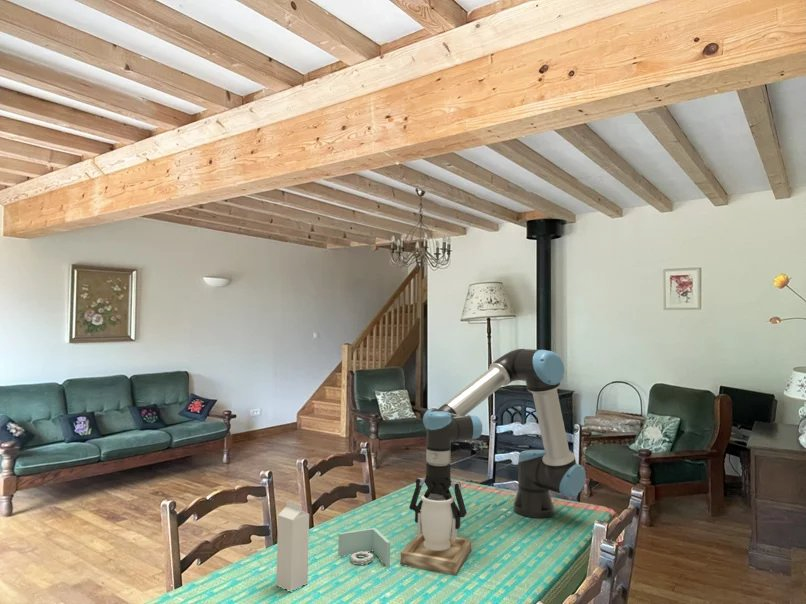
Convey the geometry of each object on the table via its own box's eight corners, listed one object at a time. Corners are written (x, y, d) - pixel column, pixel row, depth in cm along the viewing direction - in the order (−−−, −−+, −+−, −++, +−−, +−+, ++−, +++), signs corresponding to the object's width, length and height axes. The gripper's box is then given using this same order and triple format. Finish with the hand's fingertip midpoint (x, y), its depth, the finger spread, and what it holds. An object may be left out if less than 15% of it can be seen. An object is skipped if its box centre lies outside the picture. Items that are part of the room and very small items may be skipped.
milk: (292, 578, 147) (295, 497, 148) (307, 584, 143) (310, 501, 144) (275, 586, 142) (278, 502, 143) (290, 593, 138) (293, 507, 139)
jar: (452, 554, 155) (452, 502, 156) (417, 551, 157) (418, 499, 158) (455, 540, 165) (456, 492, 166) (423, 537, 168) (423, 489, 168)
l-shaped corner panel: (338, 558, 161) (338, 533, 161) (374, 551, 166) (375, 527, 166) (350, 575, 150) (351, 548, 150) (389, 568, 155) (390, 542, 155)
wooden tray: (471, 550, 166) (471, 539, 167) (456, 575, 150) (456, 562, 150) (420, 542, 173) (420, 531, 173) (400, 564, 156) (400, 552, 156)
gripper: (399, 461, 163) (398, 534, 162) (471, 470, 155) (470, 547, 154) (407, 456, 170) (406, 526, 169) (477, 464, 162) (476, 537, 161)
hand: (437, 536), depth 161 cm, fingers closed on jar, 10 cm apart
